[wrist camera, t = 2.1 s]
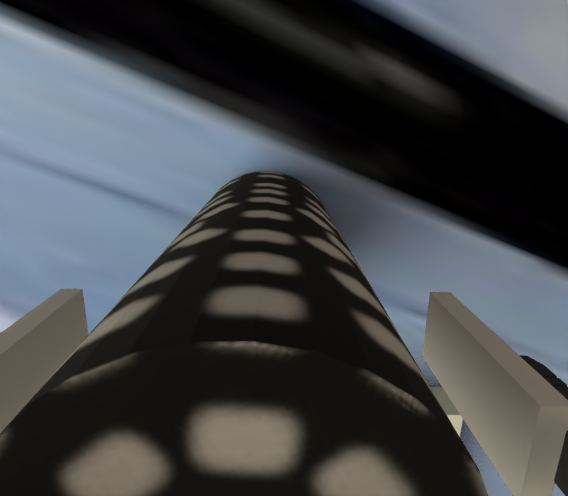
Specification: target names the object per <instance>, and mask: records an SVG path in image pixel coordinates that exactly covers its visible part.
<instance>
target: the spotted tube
mask: <svg viewBox="0 0 568 496" xmlns="http://www.w3.org/2000/svg"><path fill="white" fill-rule="evenodd" d="M0 496H488V494H487V491H486V488H485V485H484V482H483V480H482V477H481V474H480V471H479V469H478V467H477V466H476V464H475V462H474V461H473V459H472V457H471V456H470V454H469V452H468V450H467V449H466V447H465V445H464V444H463V442H462V440H461V439H460V437H459V435H458V433H457V432H456V430H455V428H454V427H453V425H452V423H451V422H450V420H449V418H448V416H447V415H446V413H445V411H444V410H443V408H442V406H441V405H440V403H439V401H438V399H437V398H436V396H435V394H434V393H433V391H432V389H431V388H430V386H429V384H428V382H427V381H426V379H425V377H424V376H423V374H422V372H421V371H420V369H419V367H418V365H417V364H416V362H415V360H414V359H413V357H412V355H411V354H410V352H409V350H408V348H407V347H406V345H405V343H404V342H403V340H402V338H401V337H400V335H399V333H398V331H397V330H396V328H395V326H394V325H393V323H392V321H391V320H390V318H389V316H388V314H387V313H386V311H385V309H384V308H383V306H382V304H381V303H380V301H379V299H378V297H377V296H376V294H375V292H374V291H373V289H372V287H371V286H370V284H369V282H368V280H367V279H366V277H365V275H364V274H363V272H362V270H361V269H360V267H359V265H358V263H357V262H356V260H355V258H354V257H353V255H352V253H351V252H350V250H349V248H348V246H347V245H346V243H345V241H344V240H343V238H342V236H341V235H340V233H339V231H338V229H337V228H336V226H335V224H334V223H333V221H332V219H331V218H330V216H329V214H328V212H327V211H326V209H325V207H324V206H323V204H322V203H321V201H320V200H319V198H318V197H317V195H316V194H315V193H314V192H313V191H312V190H311V189H310V188H309V187H307V186H306V185H304V184H303V183H301V182H300V181H298V180H297V179H295V178H292V177H290V176H287V175H285V174H280V173H275V172H255V173H250V174H246V175H243V176H241V177H238V178H236V179H234V180H232V181H230V182H229V183H227V184H226V185H225V186H223V187H222V188H221V189H220V190H219V191H218V192H217V193H216V194H215V195H214V196H213V197H212V198H211V200H210V201H209V202H208V203H207V204H206V205H205V206H204V207H203V208H202V210H201V211H200V212H199V213H198V214H197V215H196V216H195V217H194V218H193V220H192V221H191V222H190V223H189V224H188V225H187V226H186V227H185V228H184V230H183V231H182V232H181V233H180V234H179V235H178V236H177V237H176V238H175V240H174V241H173V242H172V243H171V244H170V245H169V246H168V247H167V248H166V250H165V251H164V252H163V253H162V254H161V255H160V256H159V257H158V258H157V260H156V261H155V262H154V263H153V264H152V265H151V266H150V267H149V268H148V270H147V271H146V272H145V273H144V274H143V275H142V276H141V277H140V278H139V280H138V281H137V282H136V283H135V284H134V285H133V286H132V287H131V288H130V290H129V291H128V292H127V293H126V294H125V295H124V296H123V297H122V298H121V300H120V301H119V302H118V303H117V304H116V305H115V306H114V307H113V308H112V310H111V311H110V312H109V313H108V314H107V315H106V316H105V317H104V318H103V320H102V321H101V322H100V323H99V324H98V325H97V326H96V327H95V328H94V330H93V331H92V332H91V333H90V334H89V335H88V336H87V337H86V338H85V340H84V341H83V342H82V343H81V344H80V345H79V346H78V347H77V348H76V350H75V351H74V352H73V353H72V354H71V355H70V356H69V357H68V358H67V360H66V361H65V362H64V363H63V364H62V365H61V366H60V367H59V368H58V370H57V371H56V372H55V373H54V374H53V375H52V376H51V377H50V378H49V380H48V381H47V382H46V383H45V384H44V385H43V386H42V387H41V388H40V390H39V391H38V392H37V393H36V394H35V395H34V396H33V397H32V398H31V400H30V401H29V402H28V403H27V404H26V405H25V406H24V407H23V408H22V410H21V411H20V412H19V413H18V414H17V415H16V416H15V417H14V418H13V420H12V421H11V422H10V423H9V424H8V425H7V426H6V427H5V428H4V430H3V431H2V432H1V433H0Z"/></svg>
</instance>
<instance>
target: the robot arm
mask: <svg viewBox="0 0 568 496" xmlns="http://www.w3.org/2000/svg"><path fill="white" fill-rule="evenodd" d="M87 336H88V329H87V321H86V313H85V306H84V298H83V290H82V289H61V290H59V291H58V292H57V293H55V294H54V295H53V296H51V297H50V298H48V299H47V300H46V301H44V302H43V303H42V304H40V305H39V306H37V307H36V308H35V309H33V310H32V311H31V312H29V313H28V314H26V315H25V316H24V317H22V318H21V319H19V320H18V321H17V322H15V323H14V324H13V325H11V326H10V327H8V328H7V329H6V330H4V331H3V332H2V333H0V433H1V432H2V431H3V430H4V428H5V427H6V426H7V425H8V424H9V423H10V422H11V421H12V420H13V418H14V417H15V416H16V415H17V414H18V413H19V412H20V411H21V410H22V408H23V407H24V406H25V405H26V404H27V403H28V402H29V401H30V400H31V398H32V397H33V396H34V395H35V394H36V393H37V392H38V391H39V390H40V388H41V387H42V386H43V385H44V384H45V383H46V382H47V381H48V380H49V378H50V377H51V376H52V375H53V374H54V373H55V372H56V371H57V370H58V368H59V367H60V366H61V365H62V364H63V363H64V362H65V361H66V360H67V358H68V357H69V356H70V355H71V354H72V353H73V352H74V351H75V350H76V348H77V347H78V346H79V345H80V344H81V343H82V342H83V341H84V340H85V338H86V337H87ZM422 357H423V358H424V360H425V361H426V363H427V365H428V366H429V368H430V369H431V371H432V372H433V374H434V375H435V377H436V378H437V380H438V381H439V383H440V384H441V386H442V387H443V389H444V391H445V392H446V394H447V395H448V397H449V398H450V400H451V401H452V403H453V404H454V406H455V407H456V409H457V410H458V412H459V413H460V415H461V417H462V418H463V420H464V421H465V423H466V424H467V426H468V427H469V429H470V430H471V432H472V433H473V435H474V436H475V438H476V439H477V441H478V443H479V444H480V446H481V447H482V449H483V450H484V452H485V453H486V455H487V456H488V458H489V459H490V461H491V462H492V464H493V465H494V467H495V469H496V470H497V472H498V473H499V475H500V476H501V478H502V479H503V481H504V482H505V484H506V485H507V487H508V488H509V490H510V491H511V493H512V495H513V496H552V493H553V489H554V486H555V483H556V484H557V486H558V487H559V488H560V489H561V491H562V492H563V493H564V494H565V496H568V387H567V385H566V384H565V383H564V382H563V381H562V380H561V379H559V378H557V377H556V375H555V374H554V373H552V372H551V371H550V370H549V369H548V368H547V367H546V366H544V365H543V364H541V363H539V362H537V361H535V360H534V359H532V358H530V357H528V356H519V355H518V354H517V353H516V352H515V351H514V350H512V349H511V348H510V347H509V346H508V345H507V344H506V343H505V342H504V341H503V340H502V339H500V338H499V337H498V336H497V335H496V334H495V333H494V332H493V331H492V330H491V329H490V328H488V327H487V326H486V325H485V324H484V323H483V322H482V321H481V320H480V319H479V318H478V317H476V316H475V315H474V314H473V313H472V312H471V311H470V310H469V309H468V308H467V307H466V306H464V305H463V304H462V303H461V302H460V301H459V300H458V299H457V298H456V297H455V296H453V295H452V294H451V293H450V292H430V298H429V306H428V314H427V322H426V330H425V338H424V346H423V354H422Z"/></svg>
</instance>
